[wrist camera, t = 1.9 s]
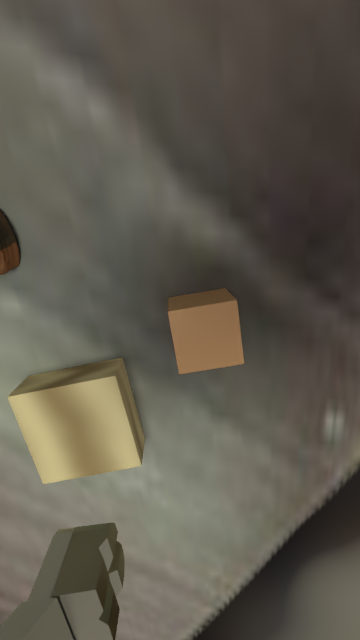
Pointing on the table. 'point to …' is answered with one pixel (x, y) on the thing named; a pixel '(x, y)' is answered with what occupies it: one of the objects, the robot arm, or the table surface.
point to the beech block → (80, 420)
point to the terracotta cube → (205, 330)
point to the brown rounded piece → (7, 247)
